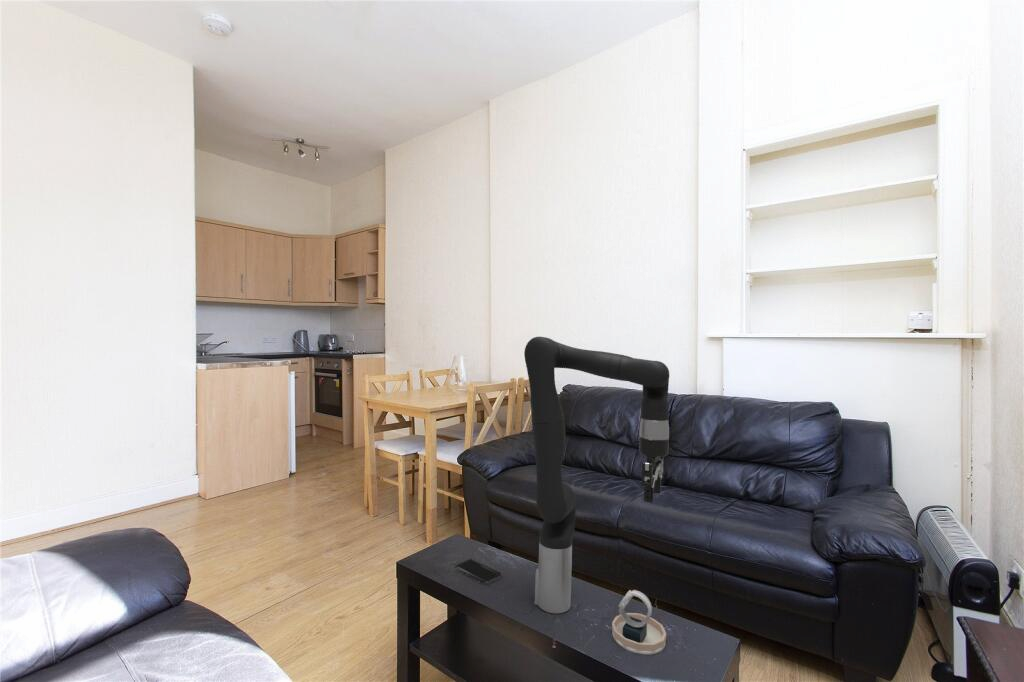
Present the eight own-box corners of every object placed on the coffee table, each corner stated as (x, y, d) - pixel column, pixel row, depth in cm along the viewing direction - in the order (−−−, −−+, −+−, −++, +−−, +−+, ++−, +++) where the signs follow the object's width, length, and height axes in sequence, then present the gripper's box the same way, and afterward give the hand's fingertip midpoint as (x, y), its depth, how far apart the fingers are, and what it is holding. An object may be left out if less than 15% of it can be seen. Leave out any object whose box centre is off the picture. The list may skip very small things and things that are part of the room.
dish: (605, 642, 110) (605, 632, 110) (621, 616, 121) (621, 607, 121) (658, 661, 103) (659, 651, 103) (670, 632, 114) (670, 623, 114)
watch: (622, 625, 115) (623, 582, 116) (653, 637, 111) (654, 592, 111) (614, 637, 111) (615, 592, 111) (647, 649, 106) (648, 603, 106)
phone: (485, 583, 134) (453, 565, 145) (485, 587, 134) (453, 569, 145) (503, 574, 140) (471, 558, 150) (503, 577, 140) (471, 561, 150)
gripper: (646, 430, 127) (645, 488, 127) (632, 438, 115) (631, 501, 114) (674, 433, 123) (672, 493, 123) (662, 442, 111) (661, 507, 111)
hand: (652, 497), depth 119 cm, fingers open, 8 cm apart
